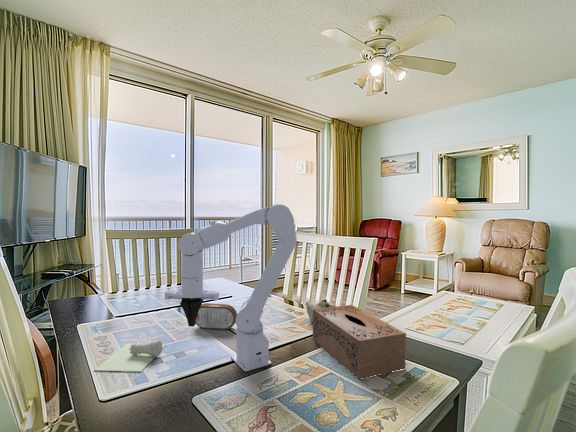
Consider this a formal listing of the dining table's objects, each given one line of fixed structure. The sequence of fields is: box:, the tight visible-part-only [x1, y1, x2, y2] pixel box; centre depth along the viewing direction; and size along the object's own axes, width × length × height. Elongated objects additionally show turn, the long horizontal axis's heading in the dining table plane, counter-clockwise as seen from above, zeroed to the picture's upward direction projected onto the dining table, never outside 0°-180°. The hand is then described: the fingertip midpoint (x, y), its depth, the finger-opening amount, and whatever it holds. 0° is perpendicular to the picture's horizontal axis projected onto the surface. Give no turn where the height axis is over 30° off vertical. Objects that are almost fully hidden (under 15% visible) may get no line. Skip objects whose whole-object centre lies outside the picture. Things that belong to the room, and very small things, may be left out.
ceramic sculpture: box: [305, 299, 337, 323], centre depth 119 cm, size 11×9×15 cm
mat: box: [93, 342, 167, 373], centre depth 90 cm, size 12×16×1 cm
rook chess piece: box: [129, 339, 163, 358], centre depth 90 cm, size 4×4×8 cm
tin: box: [195, 302, 238, 331], centre depth 111 cm, size 15×3×8 cm, turn 84°
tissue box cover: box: [312, 304, 407, 380], centre depth 94 cm, size 26×14×10 cm, turn 22°
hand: (192, 325), depth 89 cm, fingers closed
